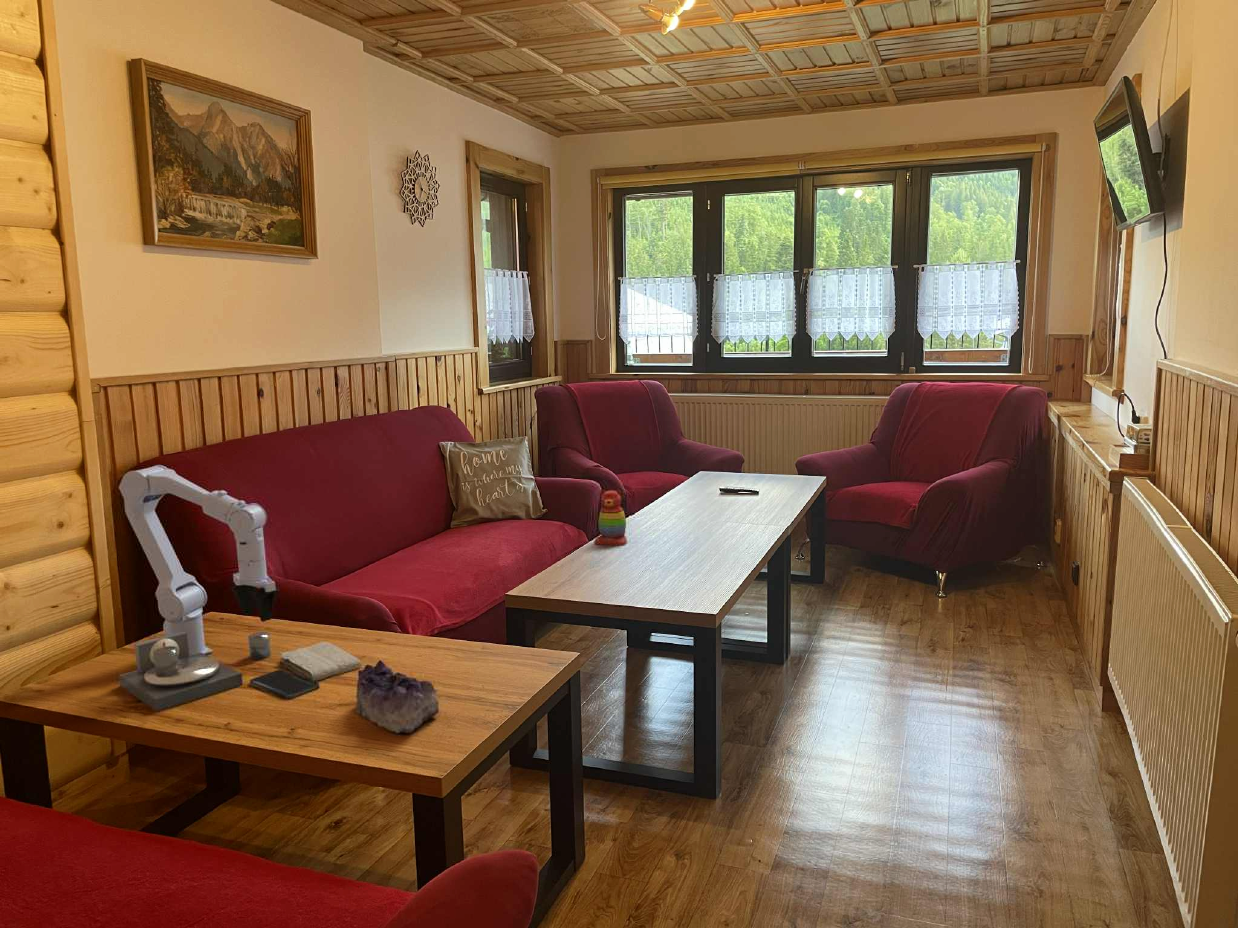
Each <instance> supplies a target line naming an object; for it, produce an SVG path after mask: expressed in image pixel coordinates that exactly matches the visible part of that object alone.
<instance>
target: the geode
mask: <svg viewBox="0 0 1238 928" xmlns="http://www.w3.org/2000/svg"><path fill="white" fill-rule="evenodd" d="M357 671H358V673H357V675H358V677H357V678H358V679H357V683H356V695H355V699H356V713H357V715H360V716H361V717H363V718H365V719H368V720H369V721H370V722H372V723H373V724H376V725H377V726H378V727H380V728H385V730H388V731H390V732H394V733H396V734H401V733H403V734H405V735H406V734H408V735H410V734H412V733H413V732H414V731H415V730H416V729H418V728H419V727H421V725H422V724H423V723H425V722H426V721H428V720H429V719H431V718H433V717H435V716H436V715H437V714H438V713H439V709H440V708H439V699H438V697H437V690H436V689H435V687H434V684H432V682H431V681H428V680H418V679H417V678H414V677H408V676H407V675H406V674H404V673H400V672H395V673H394V672H393V669H392V668H391V667H389V666H387V665H386V664H385V663H384V662H383V661H382V660H378V661H377V663H376V664H375V666H373V665H371V664H366V665H365V666H364V668H363V669H359V670H357Z"/></svg>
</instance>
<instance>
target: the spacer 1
mask: <svg viewBox="0 0 1238 928" xmlns="http://www.w3.org/2000/svg"><path fill="white" fill-rule="evenodd" d="M153 658H154V666H155V674H156V677H169V676H173V675H175V674H177V673H179V663H178V654H177V647H174V646H167V647H162V648H158V649H156V650H154V651H153Z"/></svg>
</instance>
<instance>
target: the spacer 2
mask: <svg viewBox="0 0 1238 928" xmlns="http://www.w3.org/2000/svg"><path fill="white" fill-rule="evenodd" d="M247 636H248V637H247V638H248V649H249V658H250V660H254V661H257V660H265V659H267V658H270V657H271V656H272V652H271V640H270V639H271V638H270V633H269V632H267V631H260V632H254V633H251V634H249V635H247Z"/></svg>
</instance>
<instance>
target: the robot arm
mask: <svg viewBox="0 0 1238 928" xmlns="http://www.w3.org/2000/svg"><path fill="white" fill-rule="evenodd" d="M118 489H119V492H120V494H121V496H122V497H123V501H124V502H123V503H124V512H125V514H126V517H127V519H128V521H129V523H130V525H131V527H132V529H133V531H134V533H135V535H136V538H137V539H138V542H139V543H140V545H141V547H142V550H143V553H145V554H144V555H146V557H147V560H148V562H149V564H150V566H151V568H152V570H153V572H154V574H155V576H156V578H157V580H158V585H157V587H156V591H155V598H156V600H157V604H158V605H157V607H158V611H159V614H160V615H161V617H162V618H164V619H165V620H164V622H163V626H162V629H163V636H166V635H170V634H174V633H178V632H182V631H184V632H186V633H187V640H188V650H189V655H193V654H196V653H200V652H201V653H203V654H205V655H207V654H210V653H213V649H211V648H209V647H207V646H206V643H205V633H204V625H203V611H204V610H203V607H205V605H206V604H207V601H208V595H207V592H206V590H205V588H204V587H203V586H202V585H201V584H199V582H198V581H197V580H196V577H195V576H194V575H192V574H189V573H188V572H185V571H184V569H183V567H182V565H181V564H182V563H180V560H179V558H178V555H176V552H175V550H174V548H173V545H172V544H171V542H170V540H169V538H168V535H167V533H166V532H165V529H164V527H163V525H162V523H161V522H160V519H159V517H158V516H157V515H158V514H157V512H156V511H155V510H156V508H157V506H158V503H159V501H160V500H161V499H162V498H163V497H164V495H166V494H171V495H174V496H176V497H179V498H181V499H183V500H186V501H188V502H191V503H193V504H196V505H198V506H201V507H202V512H203V514H205V515H207V516H209V517H212V518H214V519H215V520H218V521H220V522H222V523H224V524H226V525H228V526H229V529H230V530H231V531H232V532H233V535H234V540H235V542H236V543H235V544H236V545H235V546H236V551H237V552H236V553H237V565H238V572H237V573H233V574H232V577H233V583H234V584H235V585H232V586H230V590H231V592H232V593H233V594H234V596H235V598H236V600H237V601H238V604H239V607H240V611H241V613H242V615H243V616H244V617H245V616H249V615H253V614H254V610H255V604H256V607H257V610H258V616H259V618H260V621H261V622H263V623H264V622H267V621H270V620H272V616H273V610H274V605H275V602H276V599H277V597H278V595H279V593H280V589H279V588H277V587H276V582H275V581H274V580H272V579H271V578H270V576H268V574H267V561H266V560H267V559H266V549H265V539H264V526H265V525H266V523H267V519H268V515H267V512H266V510H265V509H264V508H263V507H262V506H261V505H260V504H258V503H256V502H255V503H249V504H248V503H246V501H245V500H239V499H237V498H234V497H233V496H230V495H228V492H227V491H225V490H223V489H222V490H214V491H211V492H210V491H208V490H206V489H204V488H203V487H200V486H199V485H197V484H195V483H193V482H191V481H189V480H187V479H186V478H184V477H182V476H180V475H179V474H177V473H176V471H175V470H174V469H171V468H167V467H166V466H164V465H161V464H156V465H154V466H153V465H152V466H151V467H147V468H142V469H137V470H130V471H128V472H126V473H125V474H124V475H123V477H122V479H121V481H120V484H119V486H118ZM256 589H259V590H256Z"/></svg>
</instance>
